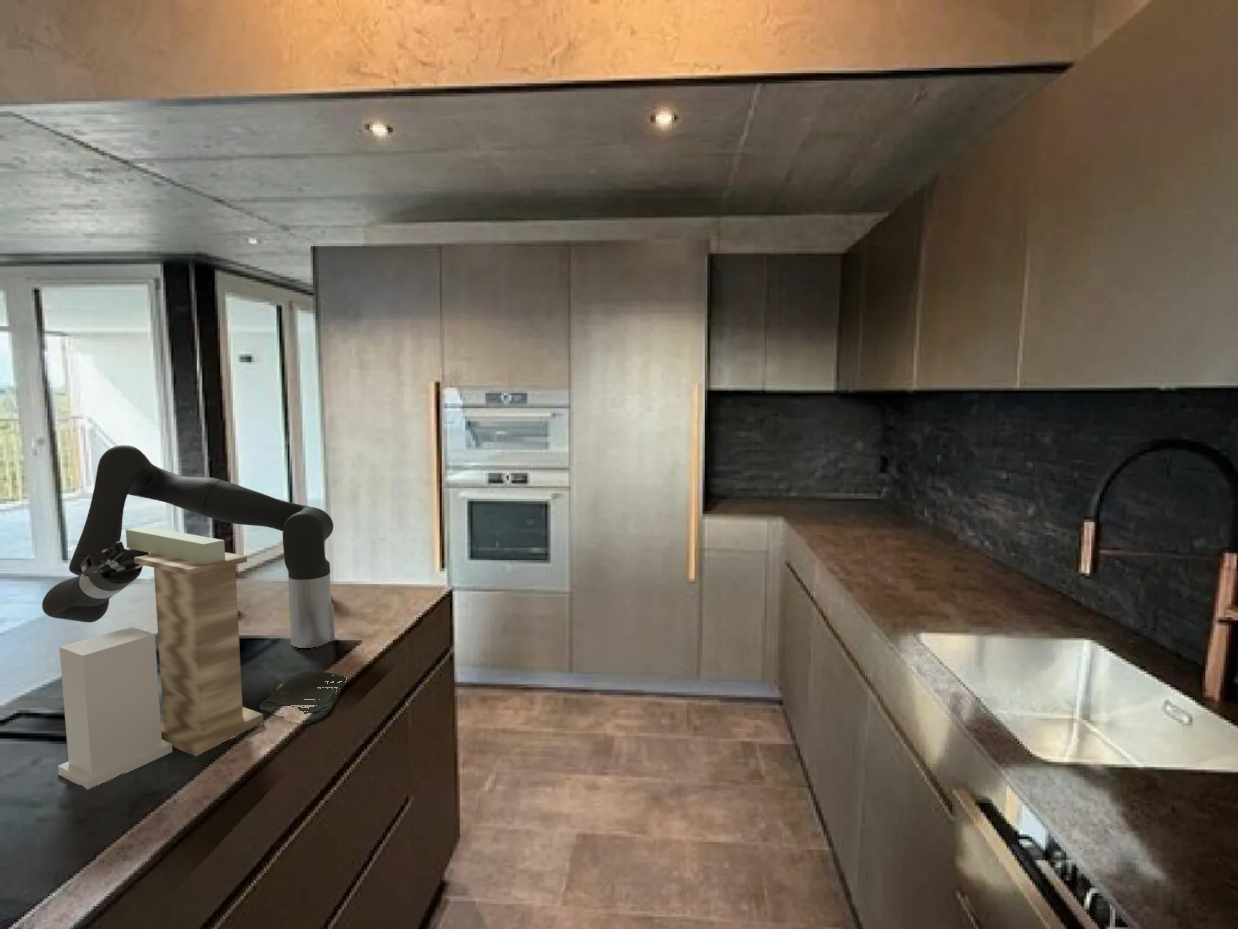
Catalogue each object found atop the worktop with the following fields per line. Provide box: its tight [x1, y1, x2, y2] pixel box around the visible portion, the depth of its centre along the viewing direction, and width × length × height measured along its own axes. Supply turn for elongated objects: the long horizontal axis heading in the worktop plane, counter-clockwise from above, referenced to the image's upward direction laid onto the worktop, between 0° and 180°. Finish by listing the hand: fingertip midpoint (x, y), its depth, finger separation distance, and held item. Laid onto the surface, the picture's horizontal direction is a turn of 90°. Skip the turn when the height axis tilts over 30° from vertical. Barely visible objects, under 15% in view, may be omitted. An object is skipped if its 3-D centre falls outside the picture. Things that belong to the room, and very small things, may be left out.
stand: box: [134, 551, 264, 757], centre depth 113 cm, size 17×12×32 cm
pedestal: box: [57, 626, 173, 789], centre depth 103 cm, size 9×12×21 cm
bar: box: [125, 525, 226, 564], centre depth 114 cm, size 24×4×4 cm, turn 64°
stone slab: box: [259, 669, 347, 726], centre depth 127 cm, size 24×17×2 cm
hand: (147, 541), depth 118 cm, fingers open, 8 cm apart
